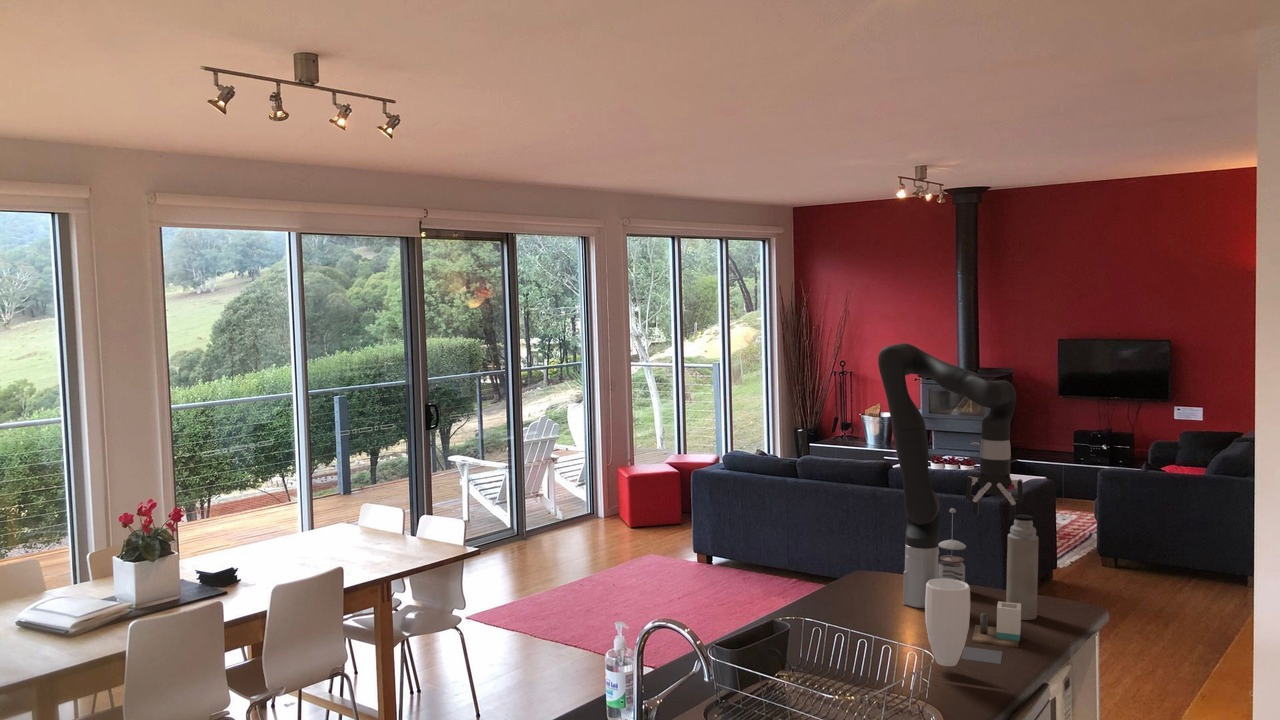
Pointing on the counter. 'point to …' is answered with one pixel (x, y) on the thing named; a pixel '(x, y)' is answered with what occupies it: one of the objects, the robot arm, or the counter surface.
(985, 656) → the pad
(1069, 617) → the counter surface
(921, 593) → the robot arm
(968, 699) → the counter surface
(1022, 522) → the thermos bottle
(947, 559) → the french press
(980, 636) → the pin board
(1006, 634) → the sleeve
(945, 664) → the cup
